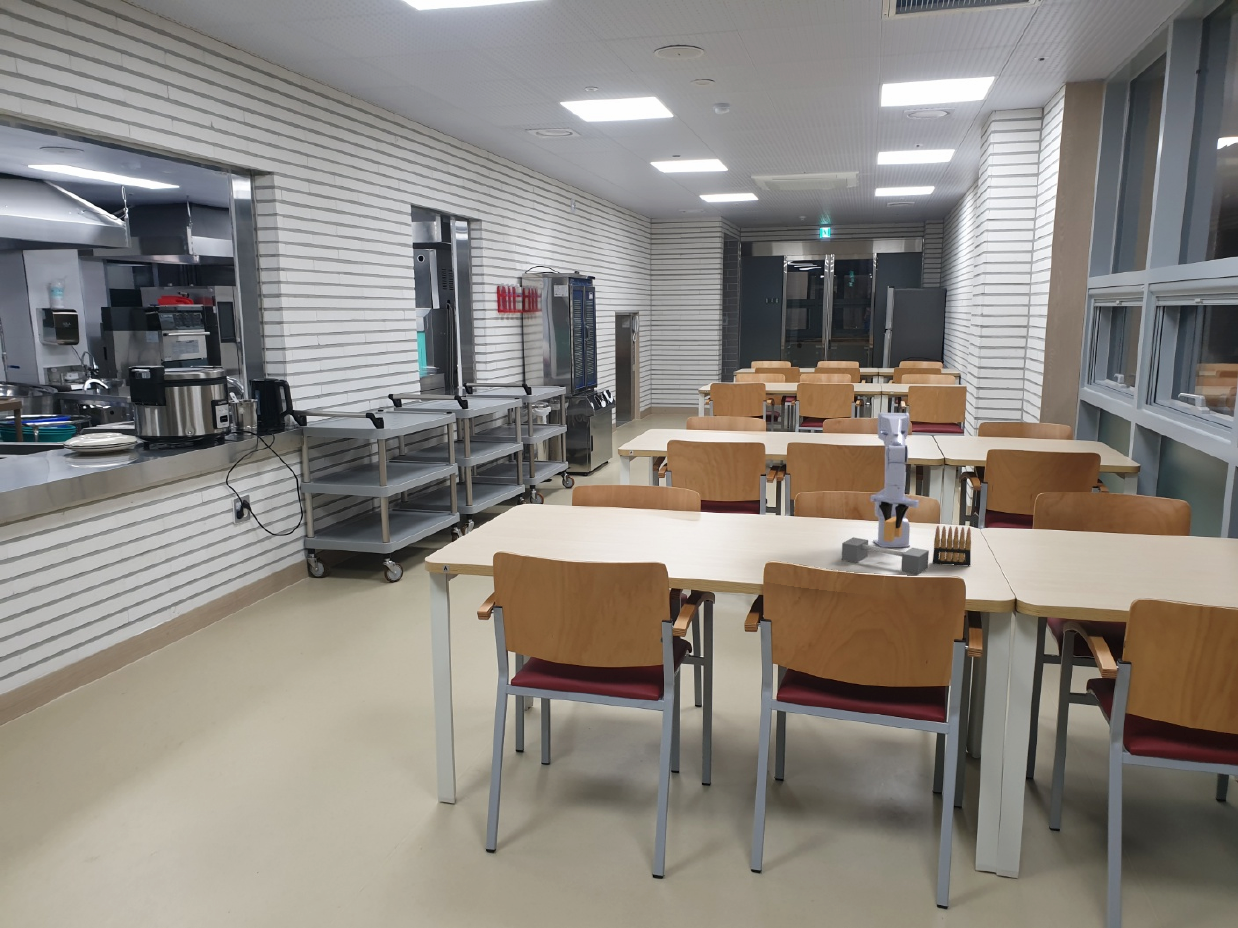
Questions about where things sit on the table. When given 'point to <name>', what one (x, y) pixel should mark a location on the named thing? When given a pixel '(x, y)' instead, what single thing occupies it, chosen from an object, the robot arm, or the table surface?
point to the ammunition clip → (953, 553)
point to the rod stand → (911, 559)
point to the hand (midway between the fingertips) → (893, 526)
